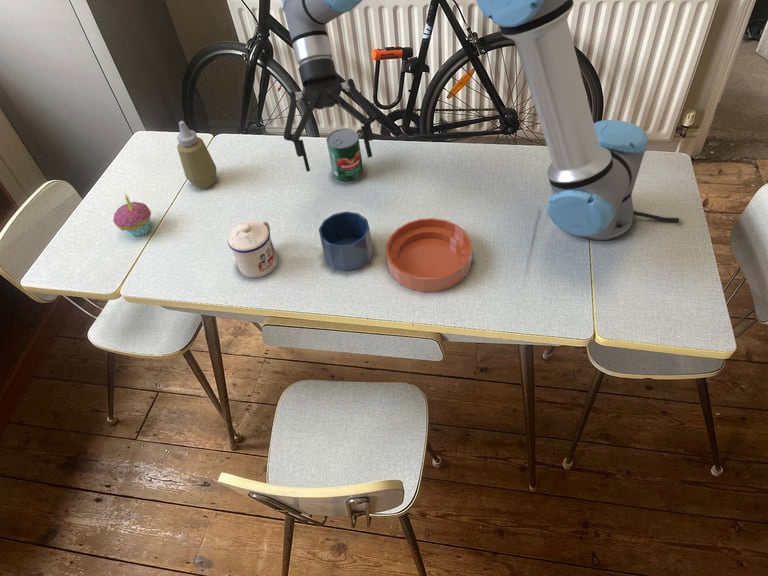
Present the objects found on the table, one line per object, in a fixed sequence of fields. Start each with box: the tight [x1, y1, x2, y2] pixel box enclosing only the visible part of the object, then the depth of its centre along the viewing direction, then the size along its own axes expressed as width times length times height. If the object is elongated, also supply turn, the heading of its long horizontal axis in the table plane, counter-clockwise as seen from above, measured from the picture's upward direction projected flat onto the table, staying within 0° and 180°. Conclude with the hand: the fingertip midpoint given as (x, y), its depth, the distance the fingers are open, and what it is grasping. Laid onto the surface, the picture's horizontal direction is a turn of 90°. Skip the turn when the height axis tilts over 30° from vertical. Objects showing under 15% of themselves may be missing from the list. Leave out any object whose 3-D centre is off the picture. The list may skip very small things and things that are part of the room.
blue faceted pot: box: [318, 210, 374, 272], centre depth 126 cm, size 11×11×8 cm
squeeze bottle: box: [176, 120, 217, 190], centre depth 144 cm, size 8×8×18 cm
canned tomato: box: [325, 127, 365, 184], centre depth 144 cm, size 8×8×11 cm
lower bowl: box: [385, 217, 473, 293], centre depth 124 cm, size 18×18×4 cm
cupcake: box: [112, 193, 152, 237], centre depth 136 cm, size 9×8×12 cm
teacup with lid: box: [227, 220, 278, 278], centre depth 126 cm, size 12×9×12 cm
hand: (339, 164), depth 124 cm, fingers open, 13 cm apart
